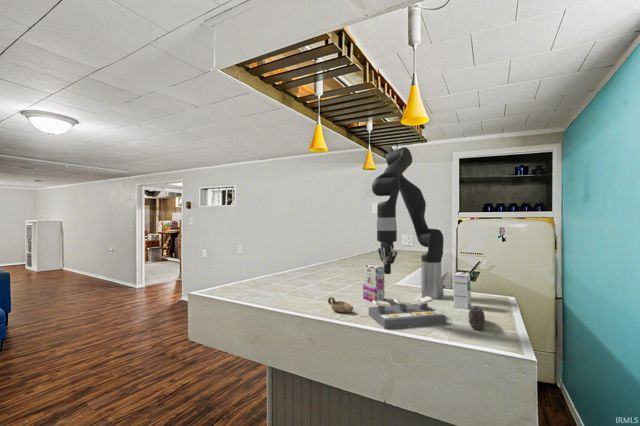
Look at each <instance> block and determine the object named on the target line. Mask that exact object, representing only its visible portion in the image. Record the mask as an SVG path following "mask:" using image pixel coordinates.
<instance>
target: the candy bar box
mask: <svg viewBox="0 0 640 426" xmlns="http://www.w3.org/2000/svg"><path fill="white" fill-rule="evenodd" d="M362 265H363V266H362V269H363V271H362V278H363V279H362V281H363V283H362V288H363V289H362V294H363V295H362V296H363V297H362V298H363V299H364V300H367V301H369V302H371V303H372V301H373V300H376V301H383V302H385V273H384V266H381V265H376V264H373V263H371V264H369V263H368V264H362Z"/></svg>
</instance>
